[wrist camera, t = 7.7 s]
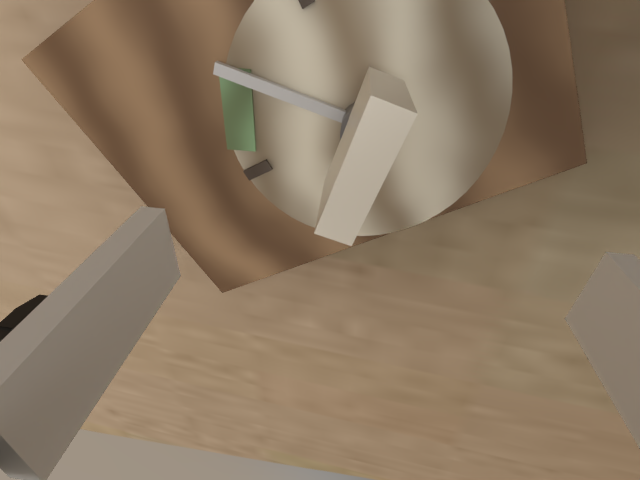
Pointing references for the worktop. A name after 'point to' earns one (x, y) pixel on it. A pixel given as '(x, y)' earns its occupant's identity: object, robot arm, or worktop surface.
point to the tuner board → (308, 127)
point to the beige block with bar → (349, 143)
